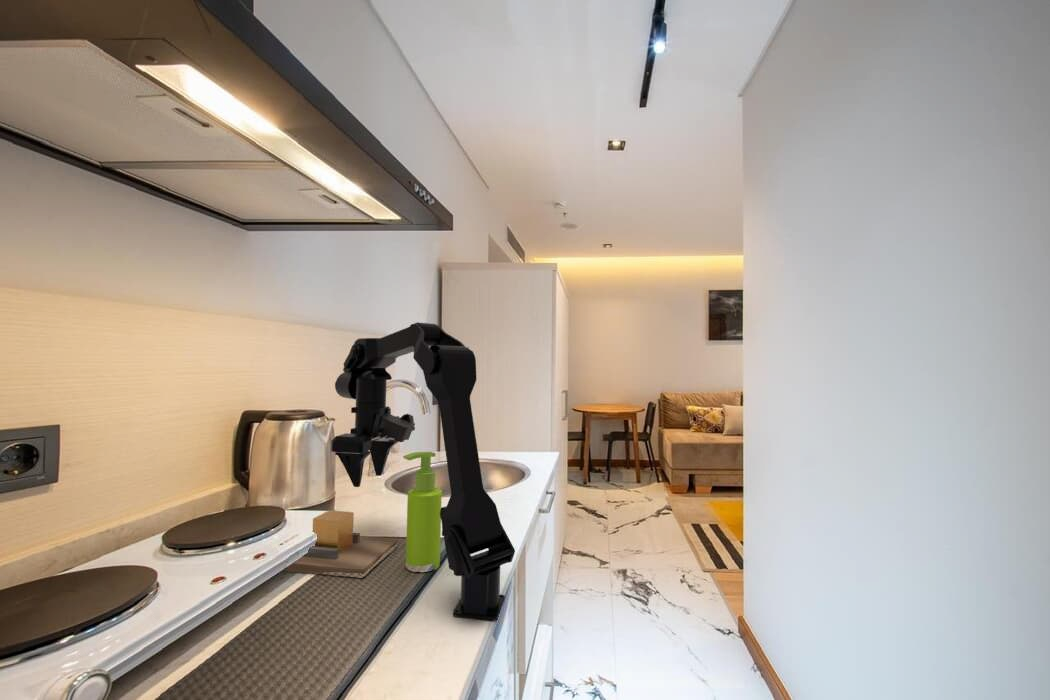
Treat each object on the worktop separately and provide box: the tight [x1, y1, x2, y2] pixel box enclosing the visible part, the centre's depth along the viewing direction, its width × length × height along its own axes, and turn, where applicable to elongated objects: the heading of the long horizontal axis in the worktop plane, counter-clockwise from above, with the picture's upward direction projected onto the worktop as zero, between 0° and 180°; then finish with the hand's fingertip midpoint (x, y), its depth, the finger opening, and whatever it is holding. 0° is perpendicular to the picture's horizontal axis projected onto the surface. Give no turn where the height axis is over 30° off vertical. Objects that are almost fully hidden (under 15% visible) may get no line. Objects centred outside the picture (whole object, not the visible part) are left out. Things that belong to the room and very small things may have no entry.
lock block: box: [312, 509, 355, 554], centre depth 87 cm, size 5×5×6 cm
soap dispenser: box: [402, 451, 443, 571], centre depth 84 cm, size 6×7×20 cm
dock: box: [284, 532, 399, 575], centre depth 87 cm, size 14×14×3 cm
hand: (368, 480), depth 95 cm, fingers open, 9 cm apart
